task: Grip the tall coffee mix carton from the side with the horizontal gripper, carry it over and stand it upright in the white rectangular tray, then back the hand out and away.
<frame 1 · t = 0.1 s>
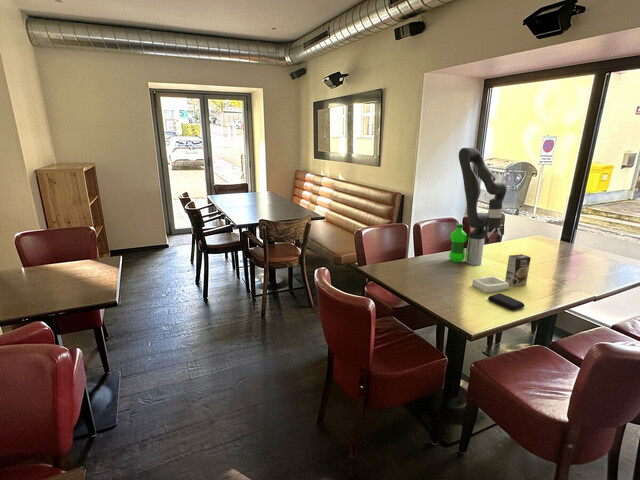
hand: (492, 242, 212), 17 cm above the table, tool pointing down, fingers open, 8 cm apart
plastic bottle: (456, 261, 233), on the table
white rectangular tray: (489, 287, 190), on the table
coffee box: (515, 283, 195), on the table
carrying case or bag: (506, 304, 171), on the table
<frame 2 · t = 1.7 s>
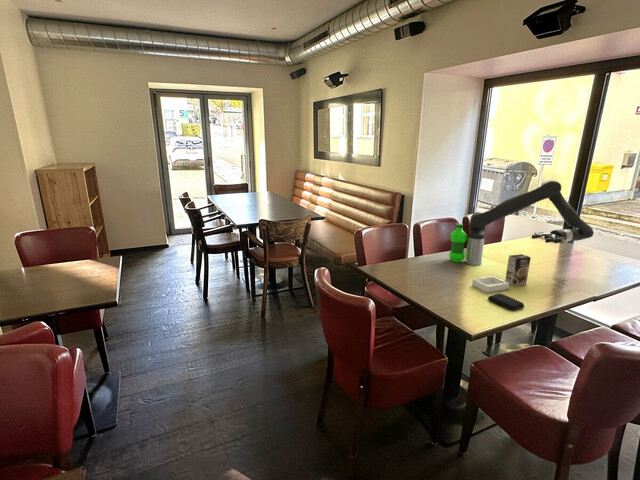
hand: (539, 238, 192), 25 cm above the table, tool horizontal, fingers open, 8 cm apart
nothing on the table moved.
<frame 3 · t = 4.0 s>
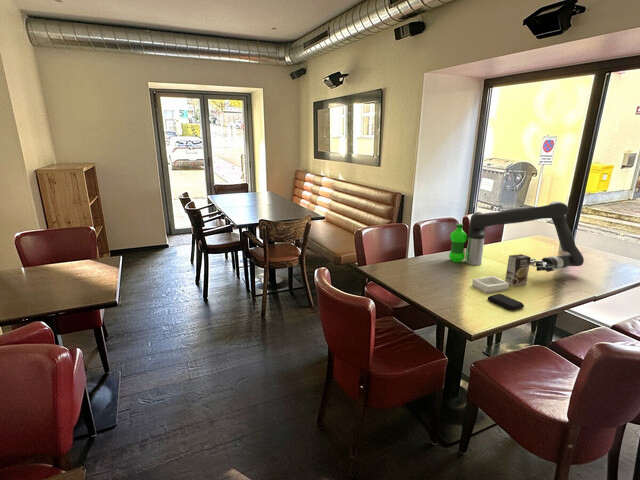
hand: (530, 266, 196), 9 cm above the table, tool horizontal, fingers open, 8 cm apart
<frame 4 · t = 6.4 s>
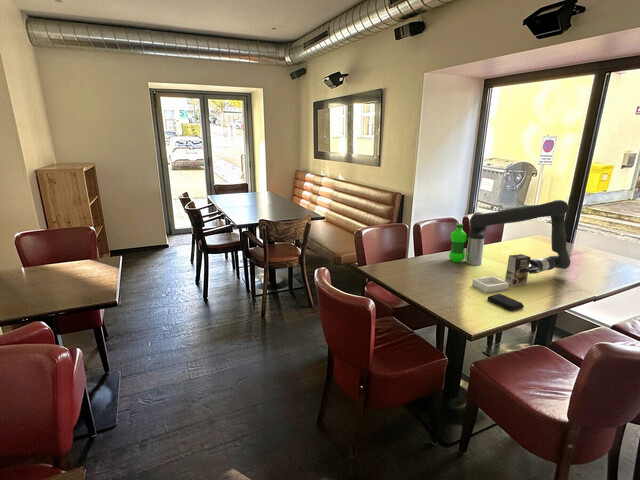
hand: (514, 268, 192), 9 cm above the table, tool horizontal, fingers closed on coffee box, 6 cm apart
coffee box: (515, 283, 195), on the table, touching gripper
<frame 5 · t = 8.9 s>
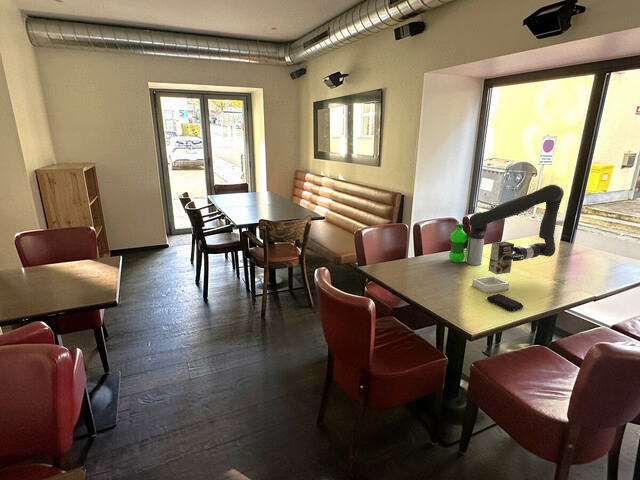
hand: (498, 256, 185), 18 cm above the table, tool horizontal, fingers closed on coffee box, 6 cm apart
coffee box: (499, 272, 189), point 9 cm above the table, touching gripper
when the fingers open (11 cm above the table, at t = 11.4 s): coffee box drops 1 cm, resting on white rectangular tray.
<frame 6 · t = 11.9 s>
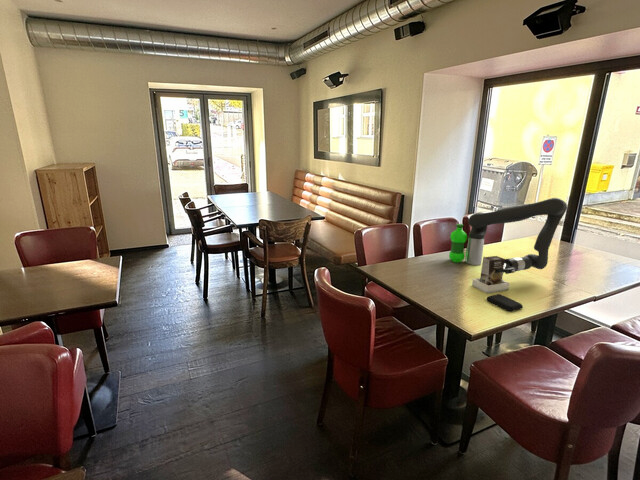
hand: (489, 268, 186), 11 cm above the table, tool horizontal, fingers open, 8 cm apart
coffee box: (490, 286, 189), point 1 cm above the table, touching white rectangular tray
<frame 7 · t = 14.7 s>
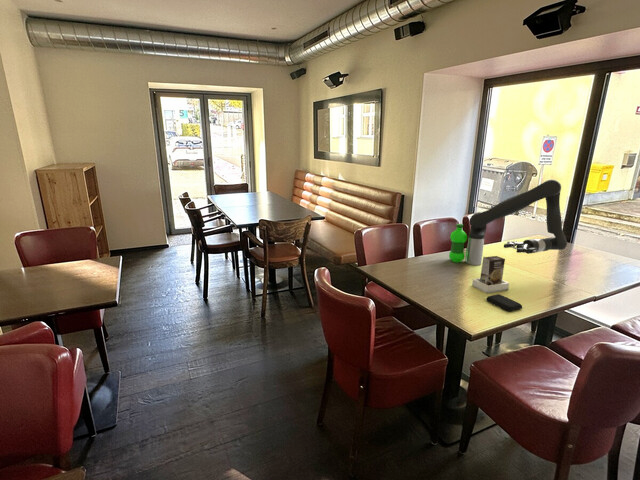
hand: (510, 248, 188), 21 cm above the table, tool horizontal, fingers open, 8 cm apart
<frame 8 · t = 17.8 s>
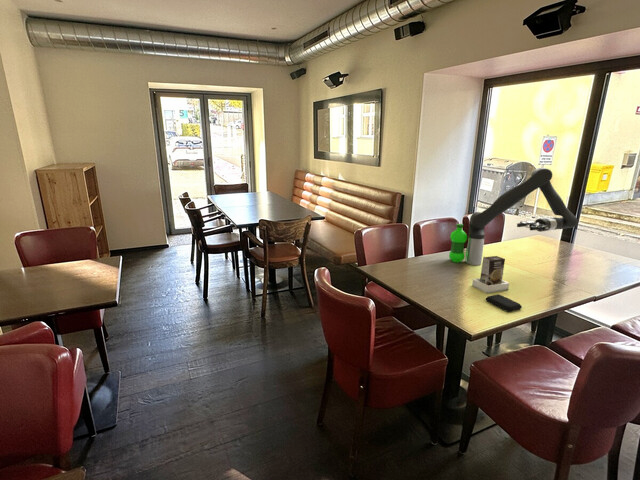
hand: (523, 226, 197), 30 cm above the table, tool horizontal, fingers open, 8 cm apart
at the end: coffee box 0.1 cm off-centre on the white rectangular tray, point 0.8 cm above the white rectangular tray's base; coffee box tilted 0°; the gripper is holding nothing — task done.
